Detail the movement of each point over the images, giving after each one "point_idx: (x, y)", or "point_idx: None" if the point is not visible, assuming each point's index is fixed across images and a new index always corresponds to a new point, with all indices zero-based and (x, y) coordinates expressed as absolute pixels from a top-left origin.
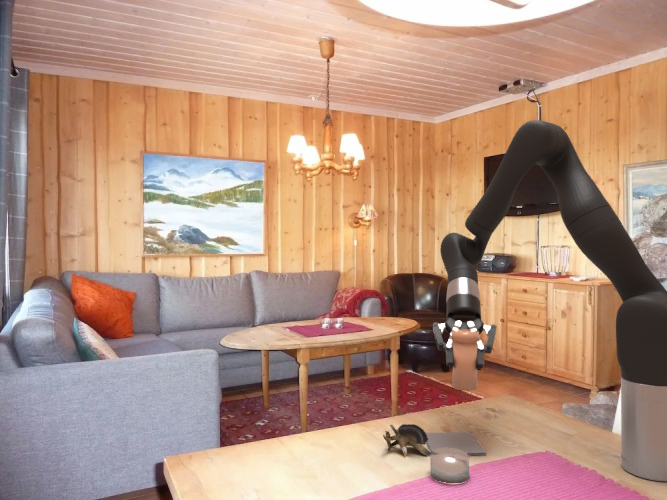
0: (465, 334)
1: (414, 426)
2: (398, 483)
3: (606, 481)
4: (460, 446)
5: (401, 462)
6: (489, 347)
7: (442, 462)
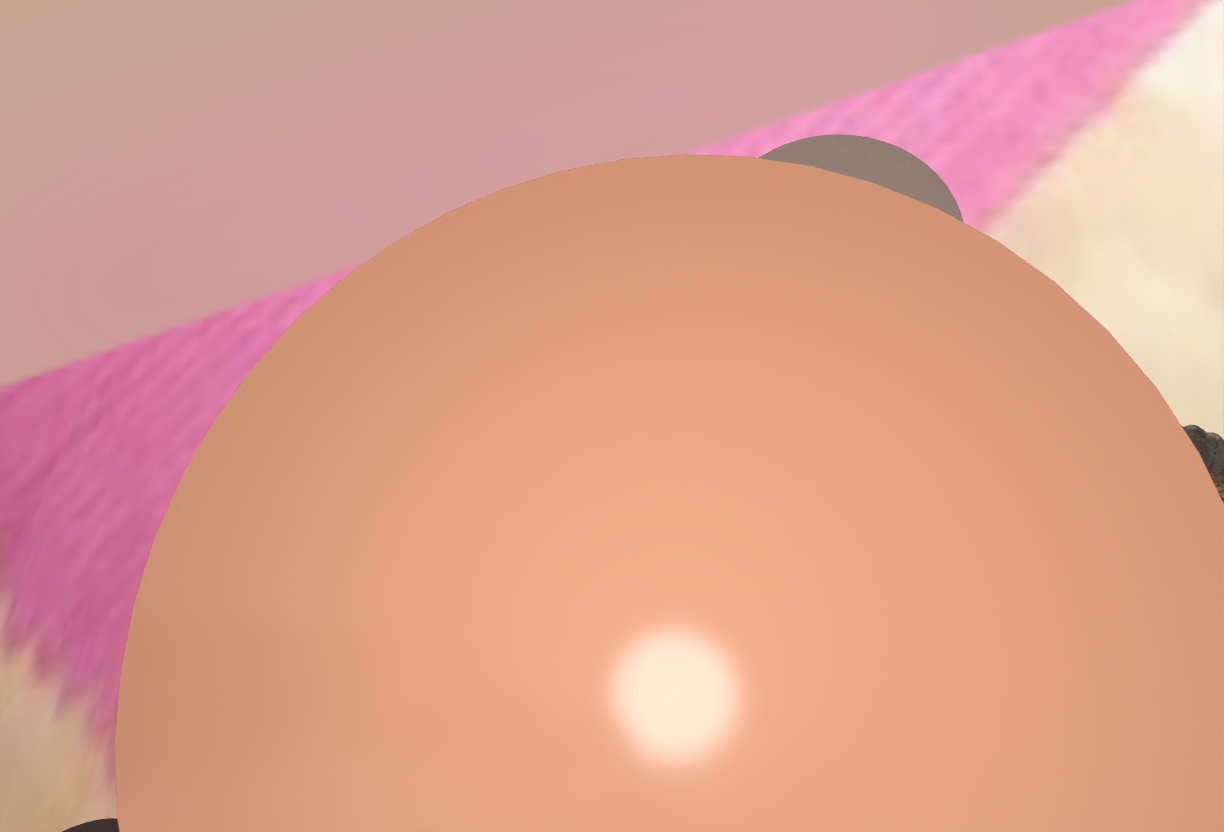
0: (612, 169)
1: (1201, 445)
2: (1098, 125)
3: (2, 512)
4: None
5: (1180, 382)
6: (114, 823)
7: (860, 138)
